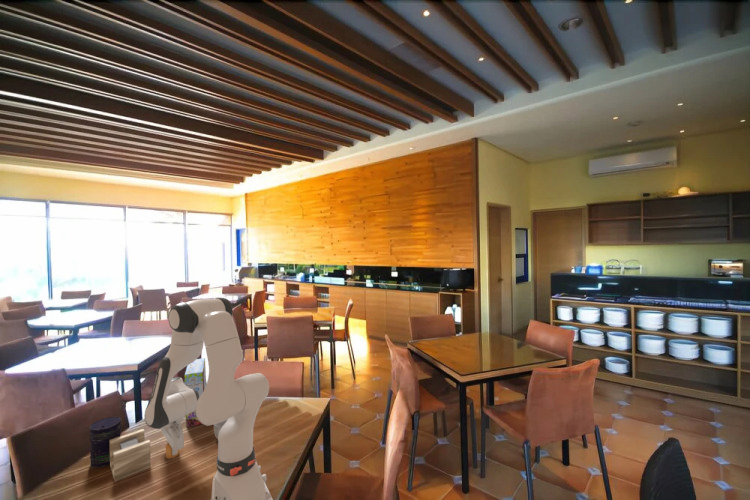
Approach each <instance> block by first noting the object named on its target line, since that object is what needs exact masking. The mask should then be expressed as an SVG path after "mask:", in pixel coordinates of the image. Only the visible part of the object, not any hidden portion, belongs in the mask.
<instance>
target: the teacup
mask: <svg viewBox="0 0 750 500" xmlns="http://www.w3.org/2000/svg"><path fill="white" fill-rule="evenodd" d="M227 420H228V419H227ZM227 420H225V421H223V422H220V423H217V424H213V432H214V436H215V438H216V439H217V440H218V435H219V432H220V430H221V428H222V427H223V425H224V424H225V423H226V421H227Z"/></svg>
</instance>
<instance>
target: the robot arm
mask: <svg viewBox="0 0 750 500" xmlns="http://www.w3.org/2000/svg"><path fill="white" fill-rule="evenodd" d="M233 309H234V307H233V306H232V303H231V302H230V300H229V299H227V298H225V297H214V298H205V299H204V298H200V299H193V300H191V301H190V300H189V301H187V302H185V301H184V302H180V303H177V304H174V305H173V306H171V308H170V309H169V312H168V317H167V319H168V324H169V327H170V328H171V329H172V332H171V338H170V339H171V340H170V347H169V349H168V351H167V352H166V355H165V356H164V357H163V358H162V359H161V360H160V362H159V364H158V366H157V370H156V374H155V378H154V382H153V386H152V388H151V393H150V397H149V401H148V403H147V405H146V408H145V411H144V422H145V425H146V426H148V427H149V428H151V429H157V430H159V429H160V430H161V433H162V434H163V436H164V437H165V439H166V442H167V443H166V444H168V443H169V444H170V446H171V448H172V450H171V453H172V455H176V454H177V450H179V451H180V450H181V449H183V448H184V446H185V441H184V440H185V438H184V431H183V427H182V426H181V424H182V422H183V421H185V417H186V415H188V414H190V413H192V412H194V411H195V412H196V416H197V418H198V420H199V421H200V422H201V423H202V424H201V425H204V426H207V427H208V426H212V425H213V424H217V423H220V422H223V421H225V420H227V419H228V420H227V421H226V423H225V424H224V425H223V427H222V428H221V430H220V432H219V435H218V439H217V451H218V452H217V456H216V470H217V471H216V473H215V474H214V476H213V478H212V484H211V485H212V487H211V499H210V500H274V499H273V497H272V495H271V492H270V490H269V488H268V486H267V484H266V482H267V481H268V477H267V474H266V473H263V474H262V473H261V469H262V467H261V465H258V462H257V457H256V452H255V447H254V427H255V422H256V418H257V415H258V413H259V410H260V408H261V405H262V404H263V402H264V400H266V398H267V396H268V395H269V392H270V383H269V382H270V381H269V380H268V379H267V377H266V376H265V375H264V374H263V373H261V372H256V373H250V374H246V375H243V376H240V377H239V378H236V379H235V374H236V370H237V368H238V367H239V366H240V365H241V363H242V362H243V360H244V352H243V349H242V345H241V340H240V337H239V333H238V329H237V325H236V324H235V322H234V319H233V317H232V316H233V313H234V310H233ZM204 347H205V352H206V357H207V362H208V377H207V380H206V387H205V389H204V391H203V393H202V395H201V396H200V397H199V393H198V392H197V391H196V390H194V389H191V388H188V387H187V386H186V385H185V381H184V380H183V378H182V377H181V376H176V375H177V374H178V373H179V372H180V371H181V370H183V369H185V368H187V365H189V364H191V363H192V362H194V361H195V360H196V359H199V357H200V356H201V354H202V352H203V348H204ZM175 376H176V377H175ZM213 426H214V425H213Z"/></svg>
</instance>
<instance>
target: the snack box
mask: <svg viewBox="0 0 750 500" xmlns="http://www.w3.org/2000/svg"><path fill="white" fill-rule="evenodd" d="M206 373H207V371H206V358H205V357H203V358H197V359H196V360H195V361H194V362H192V363H191V364H189V365H187V366H186V369H185V372H184V376H183V377H184V380H183V382H184V384H185V385H186V386H187V387H188V388H191V389H194V390H196V391H197V392H198V393H199V397H200V396H201V395H202V393H203V391H204V389H205V387H206V385H207V378H206V377H207V374H206ZM198 425H199V426H200V425H203V424H202V423H201V422H200V421H199V420H198V418H197V416H196V412H195V411H194V412H192V413H190V414H188V415H186V416H185V427H186V428H189V427H190V426H191V427H195V426H198Z"/></svg>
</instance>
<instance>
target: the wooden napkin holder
mask: <svg viewBox="0 0 750 500" xmlns="http://www.w3.org/2000/svg"><path fill="white" fill-rule="evenodd" d="M109 442H110V465H109V467H110V470H111V474H112V478H113V480H114V483H116V482H117V481H120V480H124V479H125V478H128V477H130V476H132V475H134V474H137V473H140V472H143V471H144V470H148V469H150V468H151V466H152V465H151V462H152V461H151V440H150V439H146V440H145V429H144V428H141V429H139V430H138V429H137V430H134V431H132V432H128V433H126V434H123V435H121V436H120V437H117V438H114V439H111V440H109Z"/></svg>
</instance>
